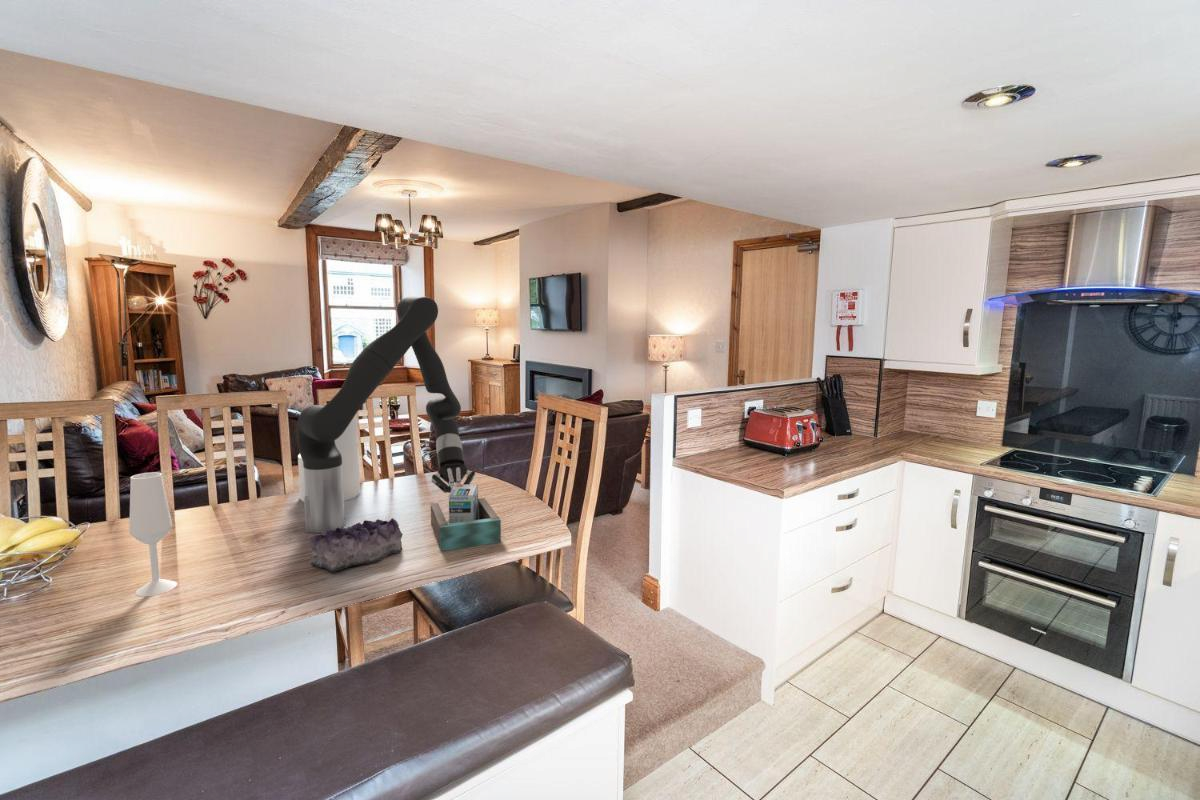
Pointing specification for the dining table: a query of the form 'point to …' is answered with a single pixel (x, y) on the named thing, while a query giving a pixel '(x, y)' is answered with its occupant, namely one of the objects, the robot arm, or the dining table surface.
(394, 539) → the geode
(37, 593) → the dining table surface
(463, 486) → the light bulb box
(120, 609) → the dining table surface
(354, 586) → the dining table surface
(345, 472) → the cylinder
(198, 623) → the dining table surface
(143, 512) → the champagne flute
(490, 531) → the channel
